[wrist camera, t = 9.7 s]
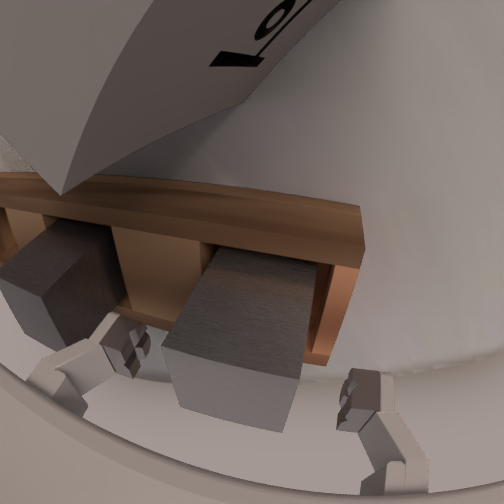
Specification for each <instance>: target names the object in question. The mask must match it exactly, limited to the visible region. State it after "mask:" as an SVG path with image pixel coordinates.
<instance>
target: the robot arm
mask: <svg viewBox="0 0 504 504" xmlns="http://www.w3.org/2000/svg"><path fill="white" fill-rule="evenodd" d="M146 329H147V327H146V324H145V322H142V321H139V320H136V319H133V318H130V317H127V316H124V315H121V314H118V313H115V312H110V313H108V314H107V315H106V317H105V318H104V319H103V321H102V322H101V323H100V325H99V326H98V327H97V328H96V330H95V331H94V332H93V334H92V335H91V336H90V338H89V339H86V338H85V339H83V340H81V341H79V342H77V343H75V344H73V345H71V346H68V347H66V348H64V349H62V350H60V351H58V352H56V353H54V354H52V355H49V356H47V357H45V358H43V359H41V361H40V362H39V363H38V365H37V366H36V367H35V369H34V370H33V371H32V373H31V374H30V375H29V377H28V379H27V380H26V381H24V380H22V379H21V378H19V377H18V376H17V375H15V374H14V373H13V372H11V371H10V370H9V369H7V368H6V367H5V366H4V365H2V364H1V363H0V504H504V480H503V481H498V482H494V483H490V484H486V485H480V486H475V487H470V488H464V489H458V490H451V491H443V492H435V493H428V483H429V459H428V458H427V457H426V455H425V453H424V452H423V450H422V449H421V447H420V445H419V444H418V442H417V441H416V439H415V438H414V436H413V435H412V433H411V431H410V430H409V429H408V427H407V426H406V424H405V422H404V421H403V419H402V418H401V416H400V415H399V413H395V402H394V401H395V400H394V376H393V374H392V373H391V372H379V371H375V370H365V369H357V368H352V369H351V370H350V372H349V373H348V379H346V380H345V381H344V383H343V386H342V389H341V393H340V400H339V404H340V406H341V410H340V412H339V413H338V418H337V427H336V430H340V431H348V432H357V433H358V435H359V437H360V440H361V442H362V444H363V446H364V448H365V450H366V452H367V455H368V457H369V459H370V461H371V463H372V465H373V467H374V470H375V473H373V474H371V475H370V476H368V477H367V478H365V479H364V480H363V481H361V489H360V495H347V494H332V493H321V492H311V491H303V490H296V489H290V488H283V487H277V486H271V485H267V484H262V483H257V482H252V481H247V480H243V479H239V478H235V477H231V476H227V475H223V474H219V473H216V472H213V471H209V470H206V469H202V468H199V467H196V466H193V465H190V464H187V463H184V462H181V461H178V460H175V459H173V458H170V457H167V456H164V455H162V454H159V453H156V452H154V451H151V450H149V449H146V448H144V447H142V446H139V445H137V444H135V443H133V442H130V441H128V440H126V439H124V438H122V437H119V436H117V435H115V434H113V433H111V432H109V431H107V430H105V429H103V428H101V427H99V426H97V425H95V424H93V423H91V422H89V421H88V420H86V419H84V418H82V417H83V415H84V413H85V411H86V410H87V408H88V405H87V403H86V401H85V400H84V399H83V398H82V395H83V394H85V393H87V392H88V391H89V390H91V389H93V388H94V387H96V386H97V385H99V384H100V383H102V382H103V381H105V380H106V379H108V378H110V377H111V376H113V375H114V374H115V372H116V373H119V374H121V375H124V376H127V377H130V378H132V379H133V378H134V377H135V375H136V373H137V372H138V370H139V368H140V360H142V359H144V358H146V356H147V354H148V353H149V349H150V346H151V340H150V336H149V335H148V334H147V333H146V332H145V331H146Z"/></svg>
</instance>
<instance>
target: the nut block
mask: <svg viewBox="0 0 504 504" xmlns="http://www.w3.org/2000/svg"><path fill="white" fill-rule="evenodd" d="M317 264H318V262H315V261H309V260H304V259H298V258H292V257H287V256H281V255H275V254H269V253H264V252H258V251H252V250H246V249H241V248H235V247H229V246H224V245H221V246H220V247H219V249H218V251H217V252H216V254H215V256H214V257H213V259H212V260H211V262H210V264H209V265H208V267H207V269H206V270H205V272H204V274H203V275H202V277H201V279H200V280H199V282H198V284H197V285H196V287H195V289H194V290H193V292H192V294H191V295H190V297H189V299H188V300H187V302H186V304H185V306H184V307H183V309H182V311H181V312H180V314H179V316H178V317H177V319H176V321H175V323H174V324H173V326H172V328H171V330H170V331H169V333H168V335H167V336H166V338H165V340H164V342H163V343H162V345H161V348H162V351H163V354H164V358H165V361H166V364H167V368H168V371H169V374H170V377H171V380H172V383H173V386H174V389H175V392H176V395H177V398H178V401H179V404H180V407H183V408H186V409H189V410H192V411H195V412H199V413H202V414H205V415H209V416H213V417H216V418H219V419H223V420H227V421H231V422H235V423H239V424H243V425H248V426H252V427H256V428H261V429H266V430H270V431H275V432H281V433H282V431H283V428H284V425H285V423H286V420H287V417H288V413H289V411H290V408H291V405H292V401H293V398H294V395H295V392H296V389H297V386H298V383H299V379H300V374H301V368H302V363H303V357H304V352H305V346H306V340H307V334H308V327H309V321H310V315H311V308H312V301H313V294H314V287H315V279H316V272H317Z"/></svg>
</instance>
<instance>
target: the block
mask: <svg viewBox="0 0 504 504" xmlns="http://www.w3.org/2000/svg"><path fill="white" fill-rule="evenodd" d="M0 290H1V291H2V294H3V296H4V297H5V299H6V301H7V303H8V305H9V307H10V309H11V311H12V312H13V314H14V316H15V318H16V319H17V321H18V323H19V324H20V326H21V328H22V329H23V331H24V333H25V334H26V335H28V336H30V337H32V338H33V339H35V340H37V341H38V342H40V343H42V344H44V345H45V346H47V347H49V348H51V349H53V350H54V351H56V352H58V351H60V350H62V349H64V348H66V347H68V346H71V345H73V344H75V343H77V342H79V341H81V340H83V339H85V338H86V339H89V338H90V336H91V335H92V334H93V332H94V331H95V330H96V328H97V327H98V326H99V325H100V323H101V322H102V321H103V319H104V318H105V317H106V315H107V314H108V313H110V312H112V311H113V310H114V308H115V307H116V306H117V304H118V303H119V302H120V301H121V299H122V298H123V297H124V296H125V294H126V293H127V289H126V285H125V282H124V278H123V274H122V270H121V267H120V263H119V259H118V254H117V250H116V246H115V242H114V237H113V233H112V228H111V226H108V225H102V224H96V223H91V222H85V221H79V220H73V219H67V218H62V217H61V218H59V219H58V220H57V221H55V222H54V223H53V224H51V225H50V226H49V227H48V228H46V229H45V230H44V231H43V232H41V233H40V234H39V235H38V236H36V237H35V238H34V239H33V240H31V241H30V242H29V243H28V244H27V245H25V246H24V247H23V248H22V249H21V250H20V251H18V252H17V253H16V254H15V255H14V256H13V257H12V258H10V259H9V260H8V261H7V262H6V263H5V264H4V265H3V266H2V267H0Z"/></svg>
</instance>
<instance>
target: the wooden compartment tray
mask: <svg viewBox="0 0 504 504" xmlns="http://www.w3.org/2000/svg"><path fill="white" fill-rule="evenodd" d="M61 217H62V218H67V219H73V220H79V221H85V222H91V223H96V224H102V225H108V226H111V228H112V233H113V237H114V242H115V246H116V250H117V254H118V259H119V263H120V267H121V270H122V274H123V278H124V282H125V285H126V289H127V293H126V294H125V296H124V297H123V298H122V299H121V301H120V302H119V303H118V304H117V306H116V307H115V308H114V310H113V311H112V312H115V313H118V314H121V315H124V316H127V317H130V318H133V319H136V320H139V321H142V322H145V324H146V325H149V326H152V327H156V328H159V329H162V330H166V331H170V330H171V328H172V326H173V324H174V323H175V321H176V319H177V317H178V316H179V314H180V312H181V311H182V309H183V307H184V306H185V304H186V302H187V300H188V299H189V297H190V295H191V294H192V292H193V290H194V289H195V287H196V285H197V284H198V282H199V280H200V279H201V277H202V275H203V274H204V272H205V270H206V269H207V267H208V265H209V264H210V262H211V260H212V259H213V257H214V256H215V254H216V252H217V251H218V249H219V247H220V246H221V245H224V246H229V247H235V248H241V249H246V250H252V251H258V252H264V253H269V254H275V255H281V256H287V257H292V258H298V259H304V260H309V261H315V262H318V264H317V272H316V279H315V287H314V294H313V301H312V308H311V315H310V321H309V327H308V334H307V340H306V346H305V352H304V357H303V363H308V364H314V365H320V366H326V365H327V362H328V360H329V357H330V355H331V352H332V349H333V347H334V344H335V341H336V338H337V336H338V333H339V330H340V327H341V324H342V322H343V319H344V316H345V313H346V310H347V307H348V304H349V301H350V298H351V295H352V292H353V288H354V285H355V282H356V279H357V276H358V272H359V269H360V265H361V262H362V259H363V255H364V252H365V242H364V233H363V226H362V218H361V211H360V206H356V205H350V204H345V203H339V202H333V201H328V200H322V199H316V198H309V197H303V196H297V195H290V194H284V193H277V192H270V191H263V190H256V189H248V188H240V187H232V186H224V185H215V184H207V183H197V182H188V181H177V180H167V179H155V178H143V177H129V176H114V175H97V174H94V175H93V176H91V177H89V178H88V179H86V180H85V181H83V182H81V183H80V184H78V185H77V186H75V187H73V188H72V189H70V190H69V191H67V192H66V193H64V194H63V195H61V196H60V195H59V194H58V193H57V192H56V191H55V190H54V189H53V188H52V187H51V186H50V185H49V184H48V183H47V182H46V181H45V180H44V179H43V178H42V177H41V176H40V175H39V174H38V173H37V172H0V267H2V266H3V265H4V264H5V263H6V262H7V261H8V260H9V259H10V258H12V257H13V256H14V255H15V254H16V253H17V252H18V251H20V250H21V249H22V248H23V247H24V246H25V245H27V244H28V243H29V242H30V241H31V240H33V239H34V238H35V237H36V236H38V235H39V234H40V233H41V232H43V231H44V230H45V229H46V228H48V227H49V226H50V225H51V224H53V223H54V222H55V221H57V220H58V219H59V218H61Z"/></svg>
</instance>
